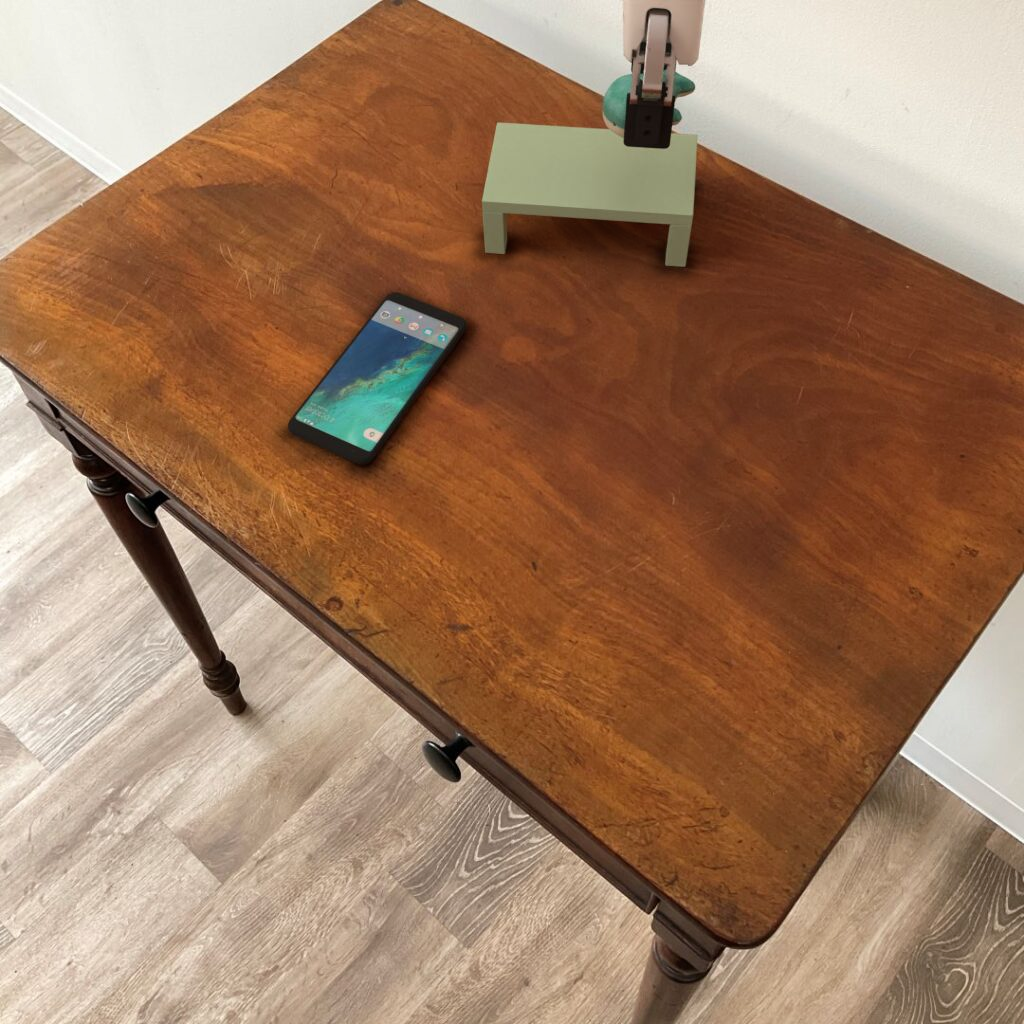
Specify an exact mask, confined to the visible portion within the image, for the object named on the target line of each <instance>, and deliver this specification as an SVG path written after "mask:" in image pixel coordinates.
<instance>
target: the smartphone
mask: <svg viewBox="0 0 1024 1024" xmlns="http://www.w3.org/2000/svg"><path fill="white" fill-rule="evenodd" d="M467 328H468V323H467V320H466V319H465V318H464V317H462V316H460V315H458V314H455V313H452V312H449V311H447V310H445V309H442V308H441V307H440V308H439V307H437V306H434V305H432V304H429V303H427V302H425V301H422V300H419V299H417V298H414V297H411V296H409V295H407V294H404V293H402V292H397V291H396V292H390V293H388V294H387V295H386V297H385V298H384V299H382V301H381V303H380V304H379V305H378V307H376V309H375V310H374V311H373V313H372V314H371V315H370V316H369V318H368V319H367V321H365V323H364V324H363V326H362V327H361V328H360V329H359V331H358V332H357V333H356V334H355V336H353V338H352V340H351V341H350V342H349V344H347V346H346V347H345V349H344V350H343V351H342V353H341V354H340V355H338V356H339V357H338V358H337V359H336V360H335V362H334V363H333V364H332V365H331V367H329V369H328V371H326V373H325V374H324V375H323V376H322V378H321V379H320V381H319V382H318V383H317V385H316V386H315V387H314V388H313V390H312V391H311V392H310V394H309V395H308V396H307V398H305V400H304V401H303V402H302V403H301V405H300V406H299V407H298V409H297V410H296V411H295V412H294V414H293V415H292V417H290V419H289V421H288V422H287V430H288V432H289V434H291V435H292V436H295V437H296V438H298V439H301V440H303V441H306V442H308V443H311V444H312V445H315V446H317V447H318V448H321V449H323V450H326V451H328V452H330V453H332V454H335V455H337V456H339V457H341V458H344V459H345V460H348V461H351V462H353V463H355V464H357V465H367V464H368V465H369V463H371V462H372V461H373V460H374V459H375V457H376V456H377V455H378V453H379V452H380V451H381V449H382V448H383V446H384V445H385V443H386V442H387V441H388V439H389V438H390V437H391V435H392V434H393V432H394V431H395V430H396V428H397V427H398V426H399V424H400V423H401V421H402V420H403V419H404V417H405V416H406V414H407V413H408V412H409V410H410V409H411V407H412V406H413V405H414V403H415V402H416V400H418V398H419V396H420V395H421V393H422V392H423V391H424V389H425V388H426V386H427V385H428V384H429V382H430V381H431V380H432V379H433V377H434V376H435V374H436V372H437V371H438V370H439V368H440V367H441V366H442V364H443V363H444V362H445V360H446V359H447V357H448V356H449V354H450V353H451V352H452V350H453V349H454V347H455V346H456V344H458V342H459V340H460V339H461V338H462V337H463V335H464V334H465V332H466V331H467Z"/></svg>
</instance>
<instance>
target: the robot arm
mask: <svg viewBox="0 0 1024 1024" xmlns="http://www.w3.org/2000/svg"><path fill="white" fill-rule="evenodd" d="M705 7H706V0H622V46H623V48H622V49H623V57H624V58H625V59H626V60H627V61H628V62H629V63H631V64H630V72H631V74H632V82H631V93H627V100H626V113H625V127H624V141H623V142H624V145H625V146H627V147H641V148H657V149H666V148H668V147H669V146H670V140H671V133H673V126H672V123H673V115H674V108H675V104H676V101H675V96H672V93H673V83H674V73H675V71H676V72H677V70H676V69H677V64H678V65H680V66H688V67H692V66H694V65H695V64H696V63H697V61H698V60H699V57H700V49H701V48H700V47H701V39H702V31H703V22H704V14H705ZM666 69H667V72H666V82H662V81H663V72H664V70H666ZM640 74H644V76H643V81H642V80H640ZM639 81H640V83H639Z"/></svg>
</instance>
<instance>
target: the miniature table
mask: <svg viewBox="0 0 1024 1024" xmlns="http://www.w3.org/2000/svg"><path fill="white" fill-rule="evenodd" d="M698 136H699V135H698V134H695V133H694V134H692V133H676V132H671V140H670V146H669V147H668V148H666V149H657V148H641V147H627V146H625V145H624V142H623V141H624V138H622V137H620V136H618V135H617V134H615V133H614V132H612V131H611V130H610V129H609V128H595V127H579V126H565V125H563V126H562V125H549V124H548V125H546V124H533V123H531V124H530V123H513V122H496V127H495V132H494V136H493V141H492V142H493V143H492V147H491V152H490V157H489V162H488V167H487V173H486V177H485V184H484V186H483V187H484V188H483V193H482V198H481V210H482V224H483V240H484V252H485V253H486V254H497V255H505V254H506V250H507V244H508V225H507V214H513V215H514V214H515V215H526V216H527V215H528V216H541V217H543V216H544V217H556V218H557V217H558V218H571V219H574V218H575V219H583V220H584V219H587V220H598V221H599V220H601V221H616V222H629V223H644V224H656V225H657V224H660V225H668V226H669V227H668V233H667V241H666V249H665V261H664V262H665V263H664V264H665V266H666V267H680V268H683V267H684V268H686V265H687V259H688V252H689V246H690V241H691V239H690V238H691V232H692V225H693V219H694V208H695V206H694V205H695V188H696V173H697V171H696V170H697V154H698V151H697V150H698V139H699V138H698Z"/></svg>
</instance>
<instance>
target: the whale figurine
mask: <svg viewBox="0 0 1024 1024" xmlns="http://www.w3.org/2000/svg"><path fill="white" fill-rule="evenodd" d="M666 72H667V69H666V70H664V72H663V81H662V82H666ZM643 76H644V74H640V80H642V81H643ZM631 82H632V73H628V74H624V75H622V76H619V77H618V78H616V79H615V80H614V81H612V83H611V84H610V85H609V87H608V88H607V90H606V91H605V93H604V96H603V100H602V119H603V121H604V124H605V125H606V127H607V129H610V130H611V131H612V132H614V133H615V134H617V135H618V136H620V137H622V138H624V127H625V113H626V100H627V93H631ZM639 83H640V81H639ZM695 90H696V84H695V82H694V81H693V80H692V79H690V78H688V77H686V76H684V75H682V74H680V73H678V72H677V70H676V71H675V73H674V83H673V93H672V96H675V102H676V101H677V99H678V98H682V97H687V96H689V95H691V94H693V93H694V92H695ZM682 120H683V116H682V113H681V111H680V110H679V109H678V108H677V107H676V108H675V107H674V115H673V123H672V127H673V126H677V125H678V124H680V123H681V121H682Z"/></svg>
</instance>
